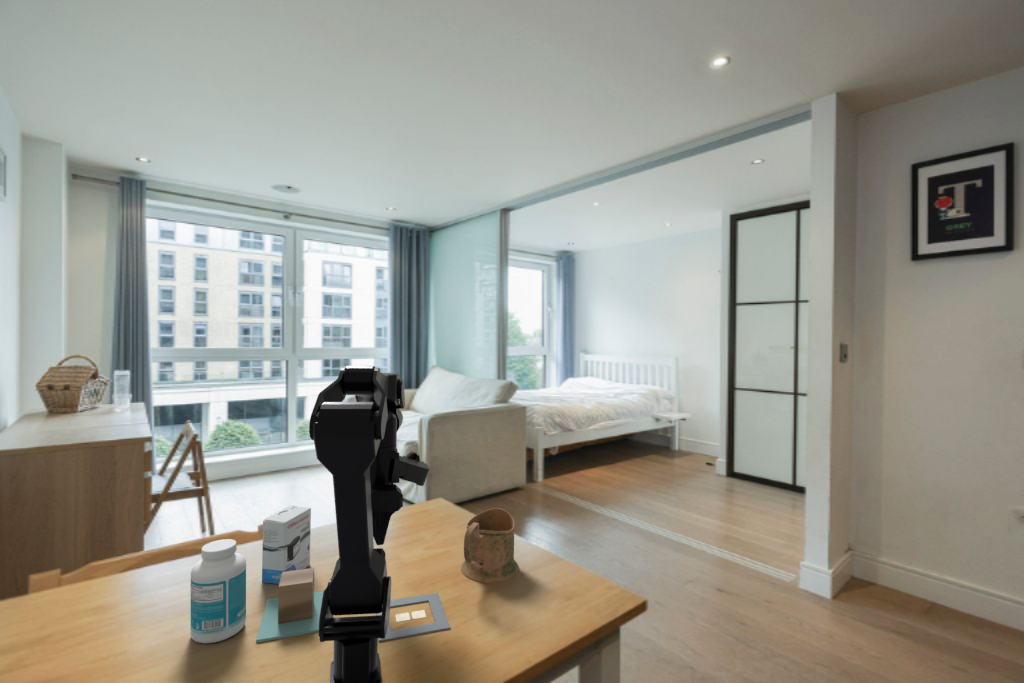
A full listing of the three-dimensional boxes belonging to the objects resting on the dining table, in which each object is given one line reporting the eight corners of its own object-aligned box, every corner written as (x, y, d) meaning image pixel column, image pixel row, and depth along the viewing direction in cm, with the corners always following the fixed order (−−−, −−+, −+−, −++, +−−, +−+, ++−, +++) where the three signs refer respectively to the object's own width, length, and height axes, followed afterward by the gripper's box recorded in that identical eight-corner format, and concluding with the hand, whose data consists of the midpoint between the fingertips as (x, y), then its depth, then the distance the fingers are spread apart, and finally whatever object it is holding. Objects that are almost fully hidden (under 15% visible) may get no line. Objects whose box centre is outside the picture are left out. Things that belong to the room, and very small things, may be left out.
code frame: (450, 629, 77) (450, 627, 77) (378, 642, 73) (378, 640, 73) (437, 594, 87) (437, 592, 87) (374, 604, 83) (374, 602, 83)
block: (311, 618, 78) (312, 581, 78) (277, 624, 77) (278, 586, 76) (313, 602, 83) (314, 567, 83) (281, 607, 81) (282, 572, 81)
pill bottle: (234, 612, 80) (236, 531, 80) (253, 629, 76) (255, 543, 76) (182, 632, 75) (184, 545, 75) (199, 652, 70) (201, 560, 70)
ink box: (283, 585, 89) (284, 522, 89) (260, 582, 90) (261, 519, 90) (311, 564, 98) (312, 506, 98) (290, 562, 99) (290, 504, 98)
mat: (327, 630, 76) (327, 628, 76) (255, 642, 72) (256, 640, 72) (329, 592, 87) (329, 590, 87) (267, 601, 84) (267, 599, 84)
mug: (436, 592, 88) (437, 526, 88) (474, 552, 104) (475, 497, 104) (495, 604, 84) (497, 536, 84) (525, 561, 101) (526, 503, 101)
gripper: (435, 453, 78) (433, 550, 78) (418, 432, 95) (417, 511, 95) (363, 458, 74) (361, 559, 74) (359, 435, 92) (358, 516, 92)
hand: (378, 533), depth 84 cm, fingers open, 9 cm apart
